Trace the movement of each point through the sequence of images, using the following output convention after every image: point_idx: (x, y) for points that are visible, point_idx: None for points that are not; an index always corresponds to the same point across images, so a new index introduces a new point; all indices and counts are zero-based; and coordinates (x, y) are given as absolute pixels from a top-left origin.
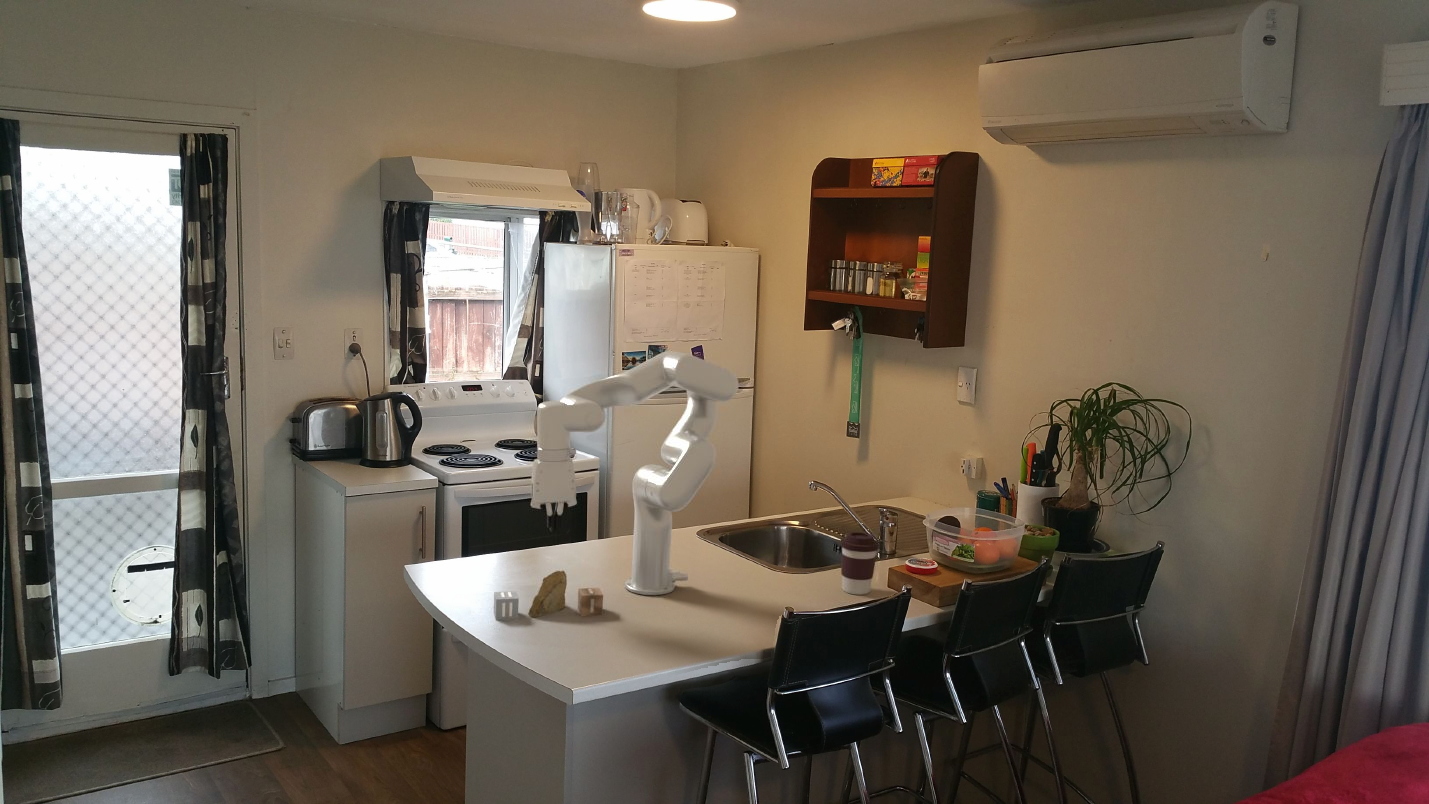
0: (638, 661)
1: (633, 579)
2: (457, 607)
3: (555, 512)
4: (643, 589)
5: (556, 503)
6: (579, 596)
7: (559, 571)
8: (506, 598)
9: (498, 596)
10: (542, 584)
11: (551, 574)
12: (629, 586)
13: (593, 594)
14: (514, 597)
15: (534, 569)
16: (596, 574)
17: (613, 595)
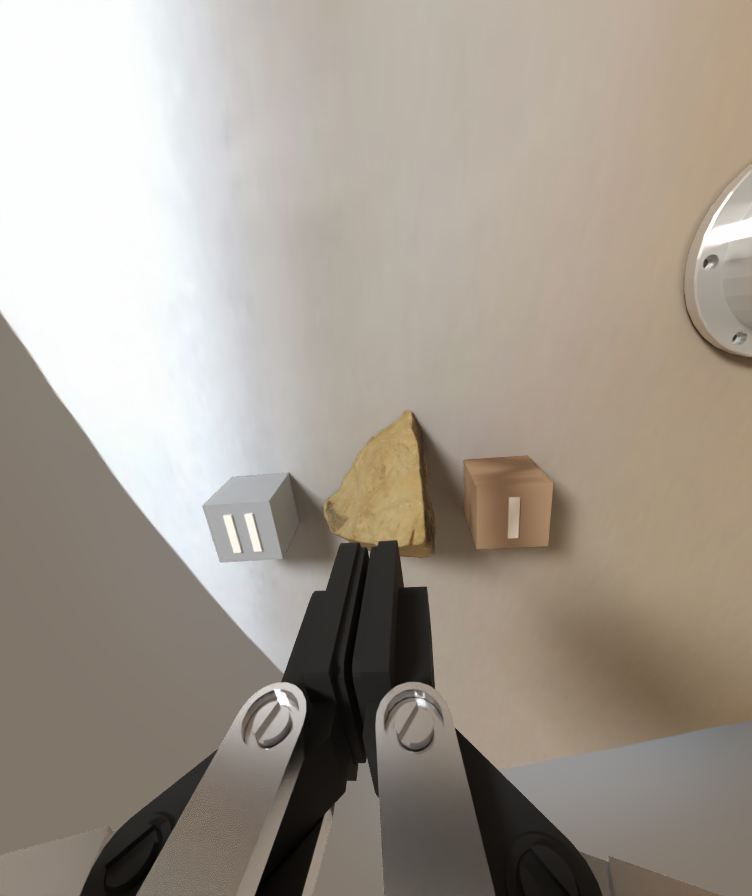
0: (535, 729)
1: (744, 277)
2: (128, 434)
3: (374, 784)
4: (741, 331)
5: (385, 887)
6: (472, 502)
7: (409, 546)
8: (247, 557)
9: (222, 541)
10: (348, 539)
11: (377, 545)
12: (700, 295)
13: (516, 541)
14: (269, 550)
15: None
16: (623, 29)
17: (608, 344)
